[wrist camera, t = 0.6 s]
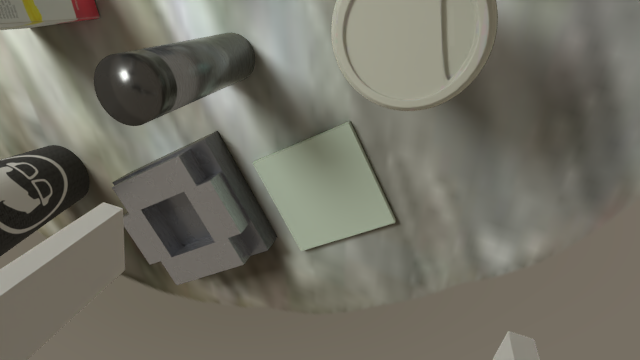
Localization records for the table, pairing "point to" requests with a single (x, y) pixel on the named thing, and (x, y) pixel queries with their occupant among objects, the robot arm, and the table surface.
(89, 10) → the ink box
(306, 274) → the table surface
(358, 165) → the mat
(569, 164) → the table surface
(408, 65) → the coffee cup
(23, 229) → the coffee cup
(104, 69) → the dark glossy cylinder
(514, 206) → the table surface
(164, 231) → the block
